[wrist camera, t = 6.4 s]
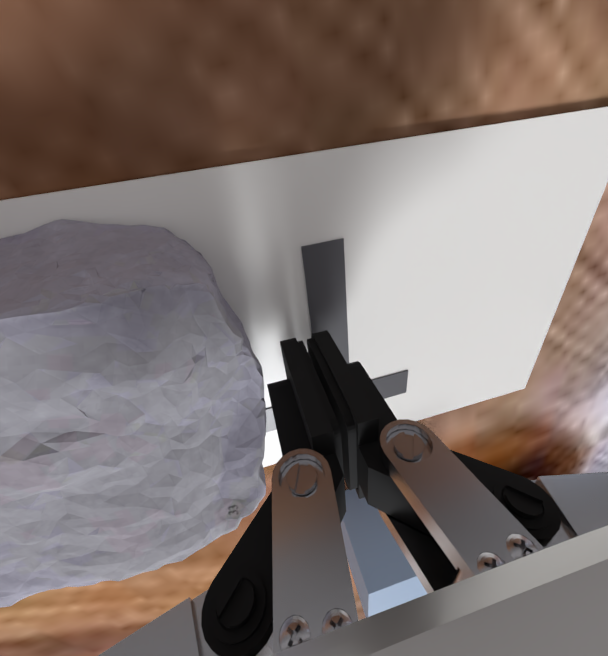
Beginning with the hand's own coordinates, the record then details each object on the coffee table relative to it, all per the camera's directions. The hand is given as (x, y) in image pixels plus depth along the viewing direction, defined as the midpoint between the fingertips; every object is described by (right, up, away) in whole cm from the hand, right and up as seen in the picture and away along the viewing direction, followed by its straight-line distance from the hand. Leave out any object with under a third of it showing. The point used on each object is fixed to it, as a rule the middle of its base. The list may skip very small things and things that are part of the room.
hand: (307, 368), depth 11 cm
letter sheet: (+1, +1, +1) cm, 2 cm away
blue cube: (+4, -10, +9) cm, 14 cm away
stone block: (-7, -1, 0) cm, 7 cm away
